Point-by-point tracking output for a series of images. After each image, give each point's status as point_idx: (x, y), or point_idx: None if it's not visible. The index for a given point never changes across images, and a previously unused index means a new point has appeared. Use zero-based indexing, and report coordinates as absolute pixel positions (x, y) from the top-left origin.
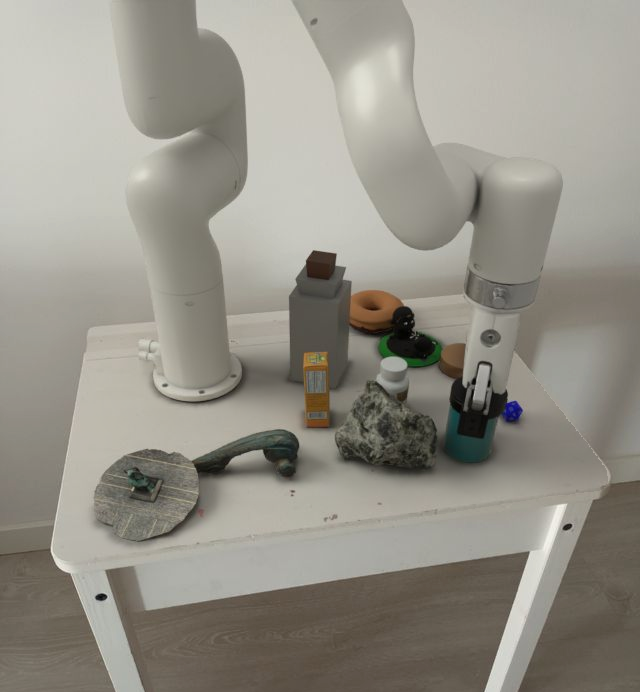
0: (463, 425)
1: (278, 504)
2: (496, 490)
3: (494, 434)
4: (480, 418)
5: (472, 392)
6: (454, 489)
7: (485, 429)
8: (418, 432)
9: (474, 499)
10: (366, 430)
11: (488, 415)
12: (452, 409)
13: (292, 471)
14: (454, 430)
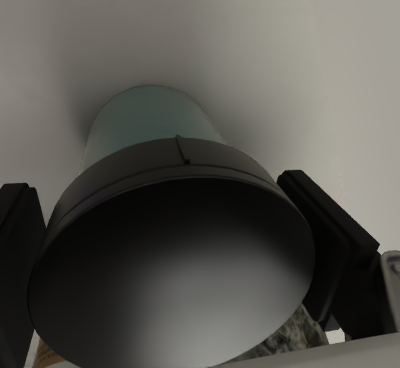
0: None
1: (331, 338)
2: (301, 60)
3: (172, 106)
4: (376, 254)
5: (209, 317)
6: (301, 154)
7: (321, 189)
8: (308, 318)
9: (329, 110)
10: None
11: (366, 234)
12: None
13: None
14: None
